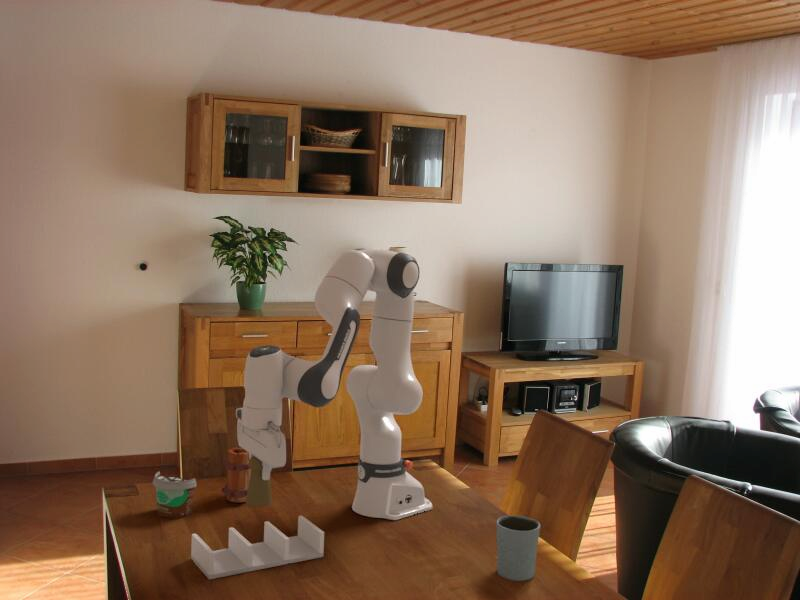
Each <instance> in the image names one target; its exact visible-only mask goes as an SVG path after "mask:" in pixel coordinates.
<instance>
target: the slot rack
mask: <svg viewBox="0 0 800 600" xmlns="http://www.w3.org/2000/svg"><path fill="white" fill-rule="evenodd" d="M297 520H298V521H297V535H294V536H289V537H288V536H287V535H286V534H285V533H283V532H282V531H281V530H280V529H278V528H277V527H276V526H275V525H274V524H272V523H271V522H270V521H268V520H267V521H264V524H263V525H264V527H263V528H264V529H263V541H261V542H255V543H251V542H250V541H249V540H247V538H245V537H244V536H243V535H242V534H241V533H240V532H239V531H238V530H237V529H236V528H234V526H233V527H229V528H228V548H221V549H218V550H217V549H216V550H213V549H211V547H210V546H209V545H208V544H207V543H206V542H205V541H204V540H203V539H202V538H201V537H200V536H199V535H198V534H197V532H196V533H192V534H191V543H190V544H191V547H190V549H191V550H190V551H191V553H190V560H191V559H192V560H193V563H194V564H195V565H196V566H197V567H198V569H199V570H200V571H201V572H202V573H203V574H204V576H206V578H207V579H208V580H213V579H217V578H218V579H219V578H223V577H228V576H229V577H230V576H232V575H233V576H234V575H237V574H242V573H243V574H244V573H249V572H253V571H258V570H263V569H270V568H273V567H279V566H285V565H288V564H289V563H290V564H294V563H298V562H303V561H311V560H314V559H319V558H320V559H321V558H323V557H324V554H325V553H324V551H325V550H324V549H325V531H323V530H322V529H320V528H319V527H318V526H317V525H315V524H314V523H312V522H311V521H310V520H309V519H307V518H306V517H305V516H303V515H298V518H297ZM192 560H191V561H192ZM290 564H289V565H290Z"/></svg>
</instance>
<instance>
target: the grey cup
mask: <svg viewBox="0 0 800 600" xmlns="http://www.w3.org/2000/svg"><path fill="white" fill-rule="evenodd" d="M540 530H541V523H540V522H539V521H538V520H536V519H533V518H531V517H527V516H522V515H505V516H501V517H499V518H497V520H496V542H497V543H496V546H497V548H496V551H497V553H496V555H497V562H496V573H497V574H498V575H499V576H500V577H502V578H504V579H507V580H510V581H516V582H517V581H519V582H521V581H524V582H525V581H529V580H531V579H532V578H533V577H534V575H535V573H536V572H535V571H536V559H537V553H538V552H537V551H538V546H539V545H538V543H539V537H540Z"/></svg>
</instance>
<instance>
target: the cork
mask: <svg viewBox="0 0 800 600" xmlns="http://www.w3.org/2000/svg"><path fill="white" fill-rule="evenodd" d="M249 468H250V469H251V474H250V480H249V486H248V492H247V498H246V501H245V504H246V505H247V506H250V507H255V508H262V507H263V508H264V507H268V506H270V505H272V503H273V497H272V488H271V487H272V486H271V478H270V479H269V480H263V479H262V478H261V477H260V476H261V474H260V473H261V471H262V469H263V466H262V461H260V460H259V459H258V458H256V457H255V456H253V457H251V458H250V460H249Z"/></svg>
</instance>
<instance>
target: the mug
mask: <svg viewBox="0 0 800 600" xmlns="http://www.w3.org/2000/svg"><path fill="white" fill-rule="evenodd" d="M249 460H250V458H249V452H247V451H246V450H245V449H243V448H242V447H240V448H239V447H233V448H231V449H228V450H227V457H226V460H225V461H224V462H223V463H222V466H223V467H224V468H225V469H226V484H225V485H224V486H223V487H222V488H221V492H222V494H224V495H225V496H226V500H227V501H229V502H231V503H236V504H237V503H238V504H240V503H246V498H247V492H248V486H249V480H250V474H251V469H250V468H249Z"/></svg>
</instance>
